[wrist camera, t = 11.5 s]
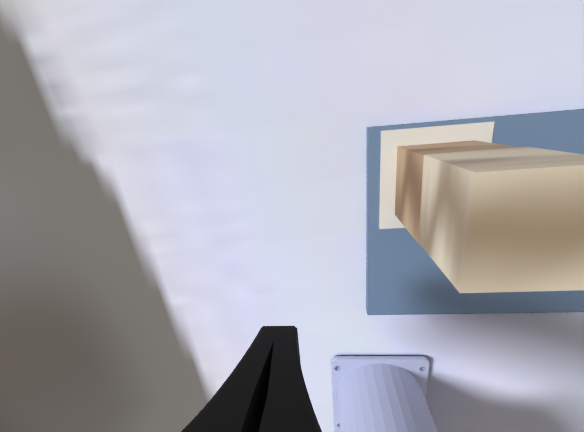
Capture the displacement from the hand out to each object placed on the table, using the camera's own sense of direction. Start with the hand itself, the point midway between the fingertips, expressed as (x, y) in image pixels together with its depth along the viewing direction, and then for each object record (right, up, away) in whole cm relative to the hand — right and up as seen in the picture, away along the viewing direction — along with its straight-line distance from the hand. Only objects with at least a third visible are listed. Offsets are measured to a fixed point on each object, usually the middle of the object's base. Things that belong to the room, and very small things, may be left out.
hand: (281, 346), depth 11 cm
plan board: (+13, +5, +8) cm, 16 cm away
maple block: (+9, +6, +3) cm, 11 cm away
